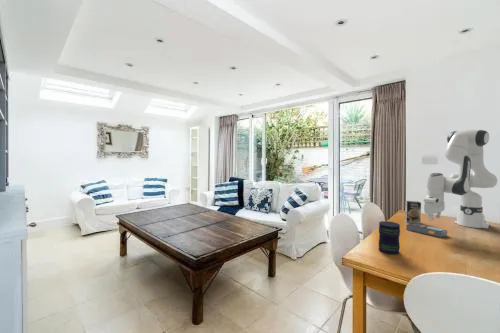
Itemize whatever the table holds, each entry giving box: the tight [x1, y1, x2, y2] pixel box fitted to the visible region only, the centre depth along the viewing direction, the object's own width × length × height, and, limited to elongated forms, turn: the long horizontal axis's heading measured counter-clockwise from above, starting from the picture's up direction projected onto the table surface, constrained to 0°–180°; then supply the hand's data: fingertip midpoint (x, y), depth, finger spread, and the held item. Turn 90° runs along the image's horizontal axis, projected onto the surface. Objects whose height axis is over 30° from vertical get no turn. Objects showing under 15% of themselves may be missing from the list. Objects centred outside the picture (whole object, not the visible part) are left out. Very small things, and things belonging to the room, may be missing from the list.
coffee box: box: [404, 200, 422, 224], centre depth 187 cm, size 9×6×16 cm
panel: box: [426, 226, 444, 232], centre depth 158 cm, size 5×8×3 cm, turn 32°
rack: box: [405, 223, 448, 239], centre depth 162 cm, size 8×20×4 cm, turn 32°
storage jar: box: [378, 220, 401, 256], centre depth 130 cm, size 10×10×15 cm
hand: (434, 219), depth 158 cm, fingers open, 8 cm apart
